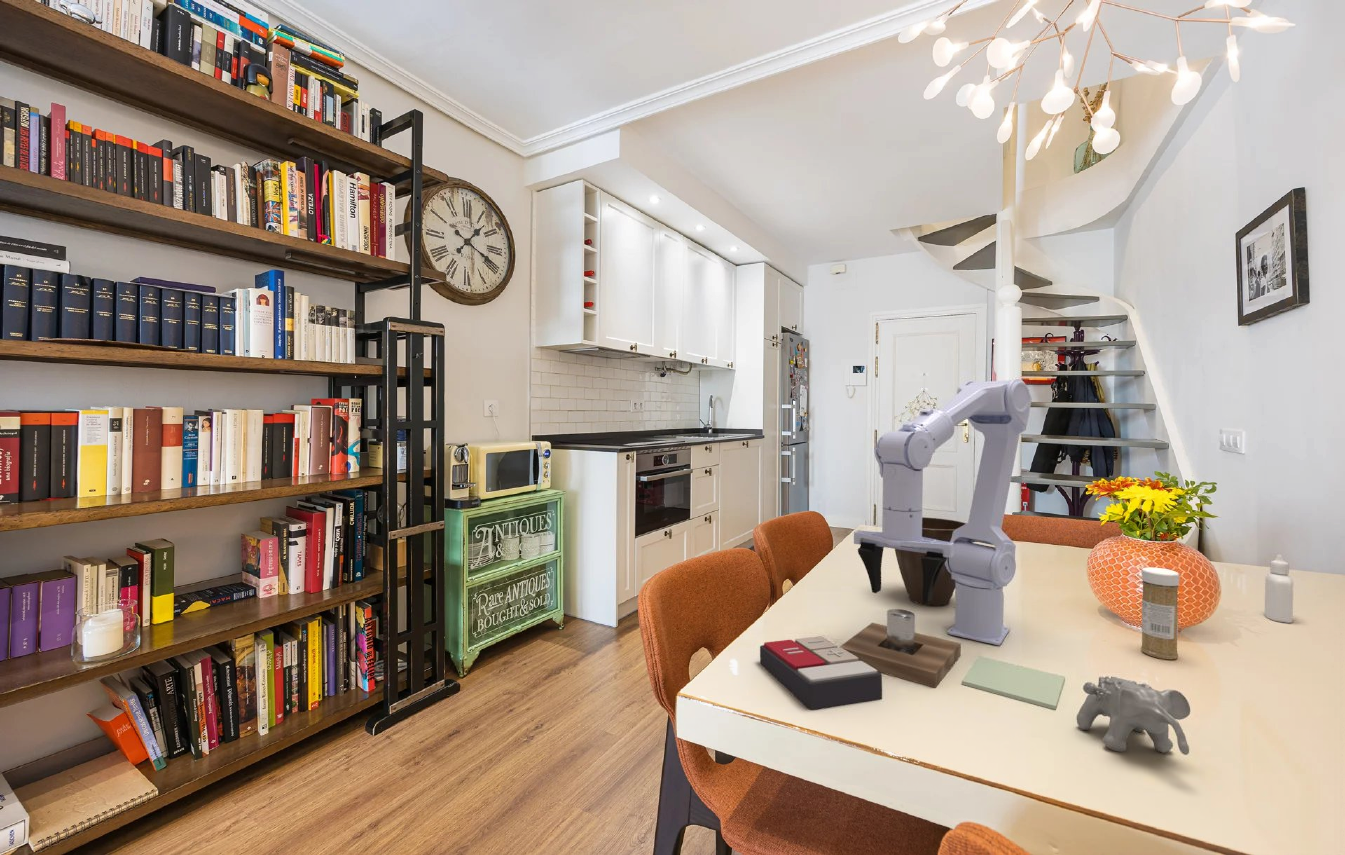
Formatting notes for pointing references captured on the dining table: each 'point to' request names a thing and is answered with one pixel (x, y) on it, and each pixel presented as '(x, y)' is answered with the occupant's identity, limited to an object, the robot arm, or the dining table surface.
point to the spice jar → (1160, 612)
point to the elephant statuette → (1134, 712)
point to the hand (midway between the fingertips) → (901, 596)
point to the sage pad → (1015, 682)
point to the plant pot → (913, 565)
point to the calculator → (821, 672)
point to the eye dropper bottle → (1279, 592)
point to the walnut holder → (905, 655)
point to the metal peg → (901, 631)
